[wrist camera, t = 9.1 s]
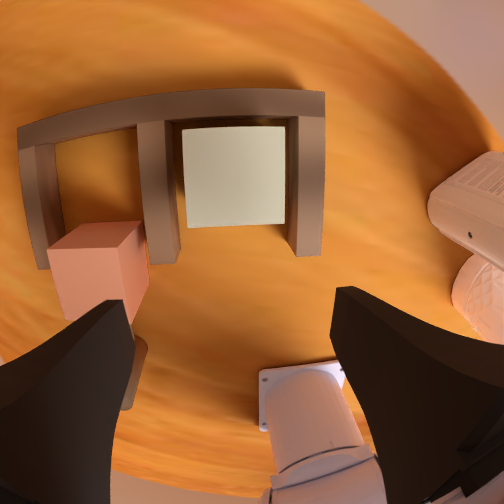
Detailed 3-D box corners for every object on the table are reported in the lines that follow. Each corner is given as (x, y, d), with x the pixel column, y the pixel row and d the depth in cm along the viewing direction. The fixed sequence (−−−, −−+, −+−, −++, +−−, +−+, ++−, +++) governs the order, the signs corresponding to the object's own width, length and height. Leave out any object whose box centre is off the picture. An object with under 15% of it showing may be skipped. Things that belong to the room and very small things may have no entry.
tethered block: (163, 356, 22) (151, 413, 16) (113, 354, 21) (93, 406, 16) (142, 220, 18) (110, 255, 12) (82, 223, 17) (37, 256, 12)
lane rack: (309, 241, 19) (320, 255, 17) (54, 255, 18) (38, 269, 15) (311, 97, 16) (324, 91, 14) (37, 127, 14) (17, 128, 12)
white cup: (436, 318, 24) (495, 382, 15) (460, 243, 21) (539, 294, 12) (480, 310, 25) (533, 359, 15) (501, 245, 22) (567, 286, 13)
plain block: (268, 201, 18) (284, 223, 14) (196, 204, 18) (187, 228, 13) (268, 130, 17) (284, 126, 12) (193, 133, 16) (181, 129, 12)
